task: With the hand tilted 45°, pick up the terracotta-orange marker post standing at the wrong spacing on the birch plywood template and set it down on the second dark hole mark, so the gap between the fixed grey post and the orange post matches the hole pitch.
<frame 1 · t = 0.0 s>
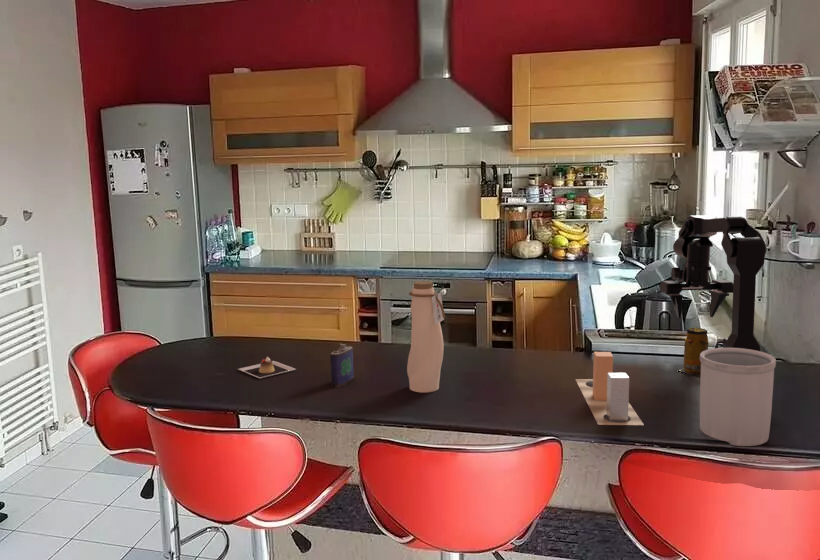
hand: (695, 317, 205), 15 cm above the breakfast bar, tool pointing down, fingers open, 9 cm apart
flask: (343, 383, 200), on the breakfast bar
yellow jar: (697, 373, 205), on the breakfast bar
template board: (606, 403, 181), on the breakfast bar
utensil holder: (732, 435, 161), on the breakfast bar
water bottle: (426, 388, 195), on the breakfast bar
dessert: (267, 373, 212), on the breakfast bar
fixed post: (616, 417, 169), resting on template board
marker post: (602, 397, 183), point 1 cm above the breakfast bar, touching template board
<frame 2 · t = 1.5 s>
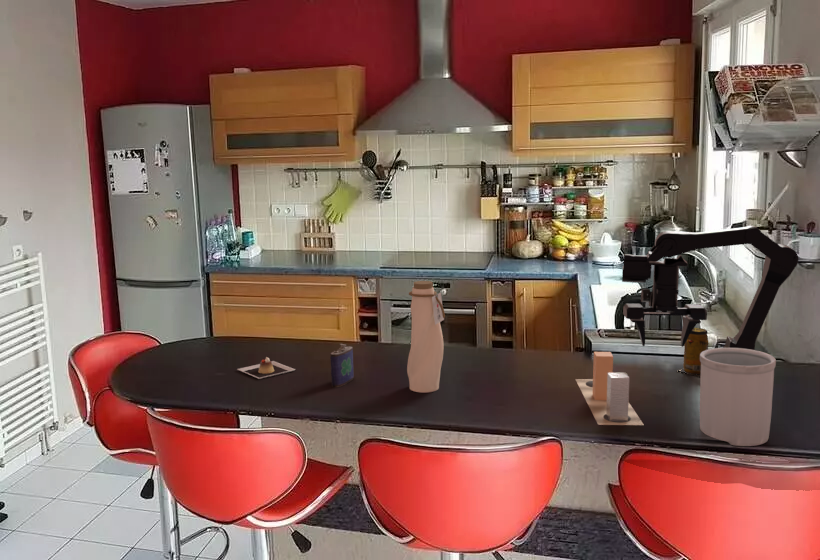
hand: (662, 345, 183), 13 cm above the breakfast bar, tool pointing down, fingers open, 9 cm apart
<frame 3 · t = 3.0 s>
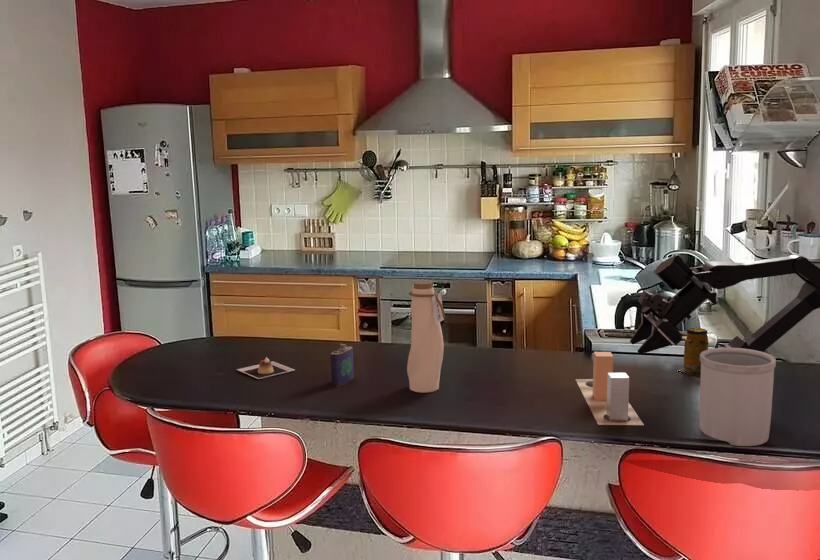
hand: (634, 347, 180), 13 cm above the breakfast bar, tool tilted 45°, fingers open, 9 cm apart
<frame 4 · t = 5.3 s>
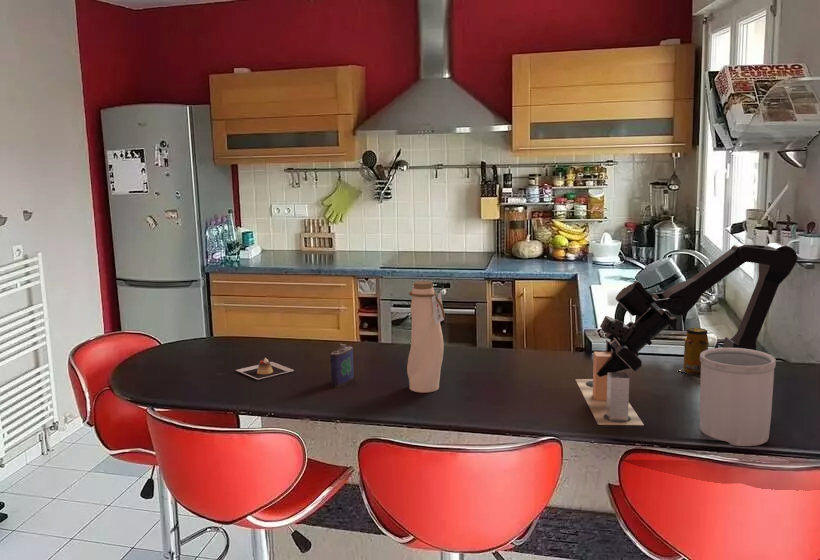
hand: (597, 372, 182), 7 cm above the breakfast bar, tool tilted 45°, fingers closed on marker post, 4 cm apart
marker post: (602, 397, 183), point 1 cm above the breakfast bar, touching gripper, template board
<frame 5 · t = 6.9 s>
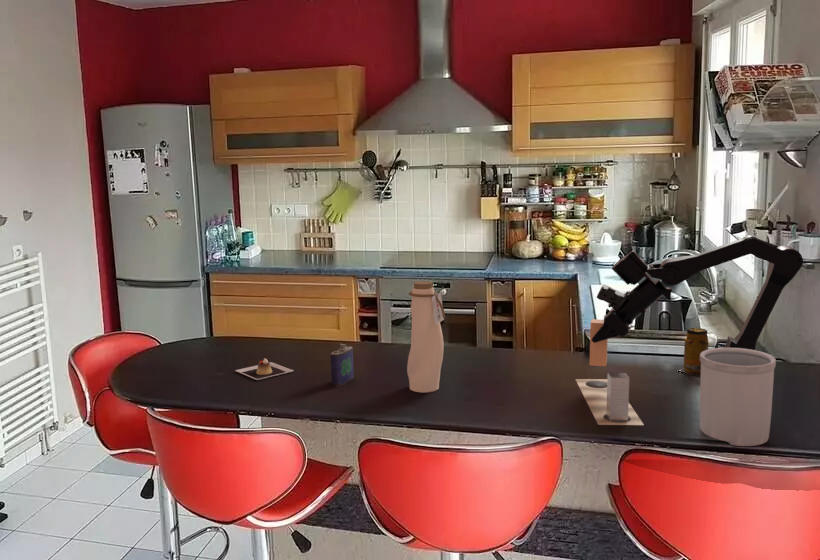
hand: (593, 339, 188), 14 cm above the breakfast bar, tool tilted 45°, fingers closed on marker post, 4 cm apart
marker post: (598, 363, 189), point 7 cm above the breakfast bar, touching gripper
when the fingers open (8 cm above the breakfast bar, at t = 8.5 s): marker post stays where it is, resting on template board.
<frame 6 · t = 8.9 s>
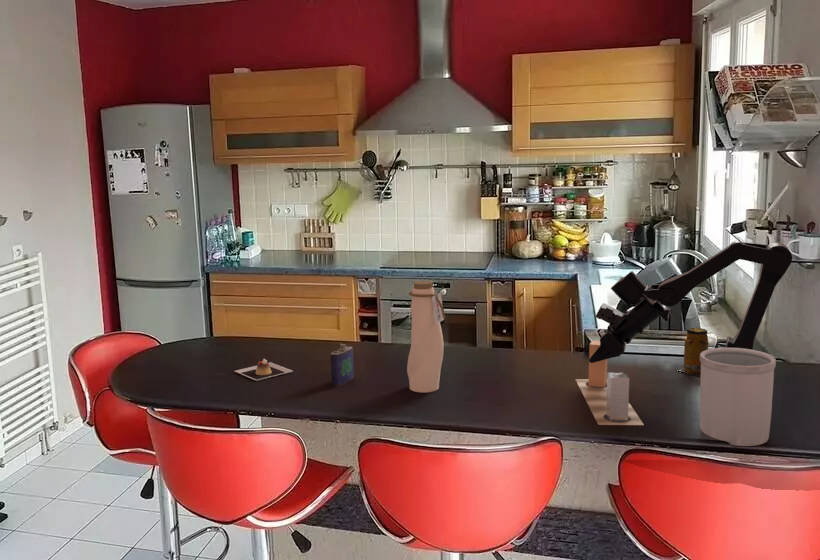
hand: (592, 356, 192), 8 cm above the breakfast bar, tool tilted 45°, fingers open, 9 cm apart
marker post: (597, 384, 193), point 1 cm above the breakfast bar, touching template board
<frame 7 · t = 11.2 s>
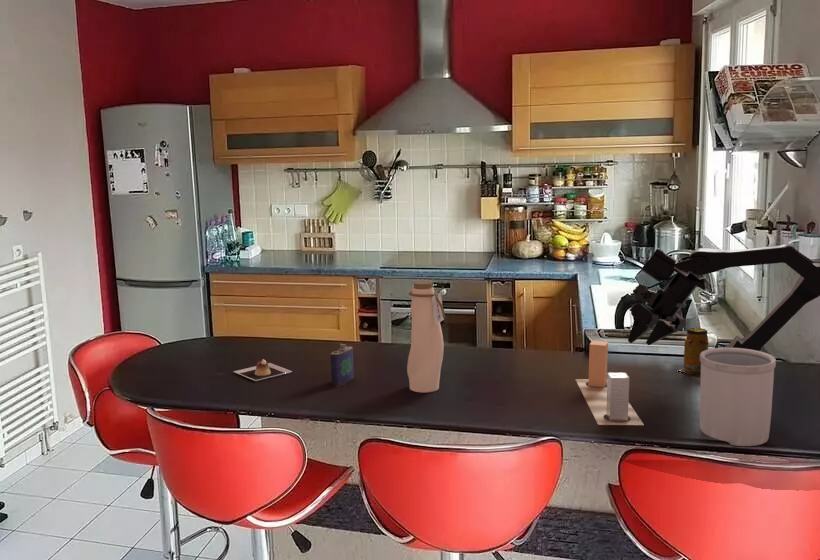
hand: (638, 343, 187), 13 cm above the breakfast bar, tool tilted 30°, fingers open, 9 cm apart
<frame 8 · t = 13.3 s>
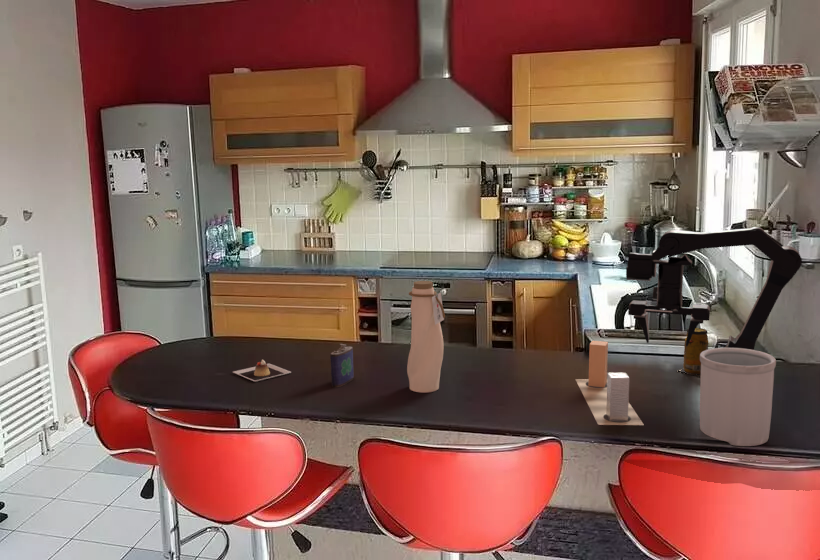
hand: (667, 344, 185), 13 cm above the breakfast bar, tool pointing down, fingers open, 9 cm apart
at the end: marker post 0.0 cm from the target spot, point 0.8 cm above the breakfast bar; marker post tilted 0°; the gripper is holding nothing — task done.
